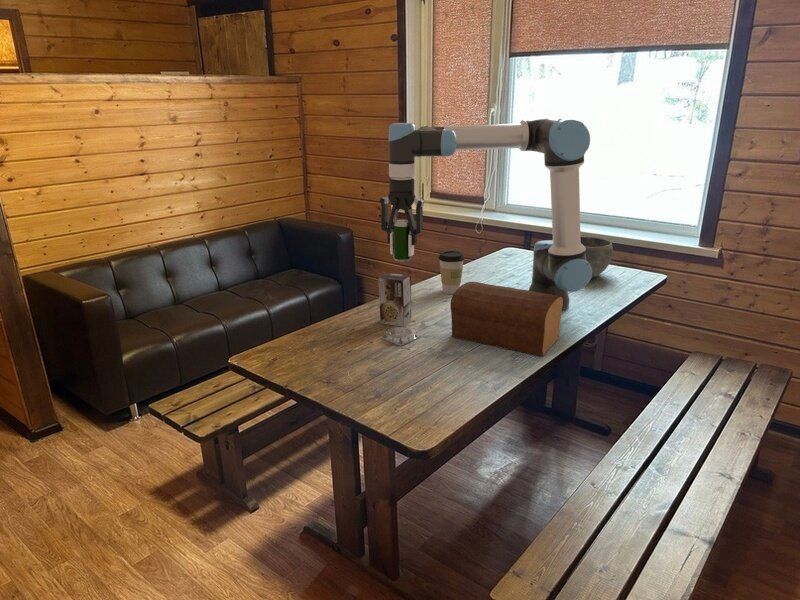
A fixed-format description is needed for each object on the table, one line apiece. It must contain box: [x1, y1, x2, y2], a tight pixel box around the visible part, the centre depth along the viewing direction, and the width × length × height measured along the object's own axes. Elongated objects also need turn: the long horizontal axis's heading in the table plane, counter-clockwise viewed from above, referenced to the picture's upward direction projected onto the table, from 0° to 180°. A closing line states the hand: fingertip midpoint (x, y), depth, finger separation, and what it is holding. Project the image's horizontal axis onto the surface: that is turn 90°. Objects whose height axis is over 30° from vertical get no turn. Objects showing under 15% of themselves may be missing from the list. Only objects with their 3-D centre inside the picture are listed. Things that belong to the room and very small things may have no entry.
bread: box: [449, 281, 563, 357], centre depth 178 cm, size 18×30×16 cm, turn 59°
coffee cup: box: [438, 250, 466, 295], centre depth 220 cm, size 10×10×15 cm
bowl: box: [580, 235, 614, 279], centre depth 235 cm, size 21×21×15 cm
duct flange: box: [380, 326, 422, 347], centre depth 181 cm, size 9×9×2 cm
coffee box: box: [378, 272, 412, 327], centre depth 191 cm, size 9×6×16 cm
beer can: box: [392, 219, 412, 263], centre depth 177 cm, size 5×5×12 cm
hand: (402, 254), depth 179 cm, fingers closed on beer can, 5 cm apart
